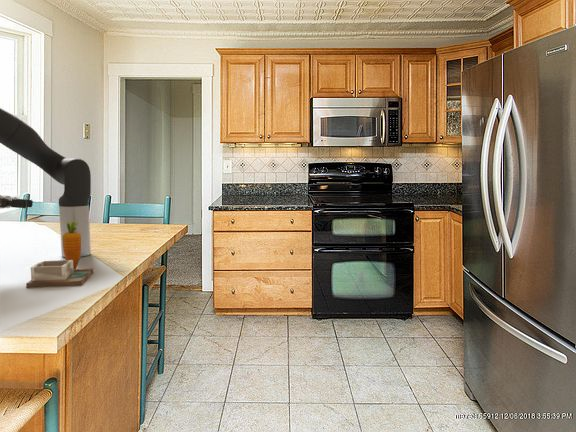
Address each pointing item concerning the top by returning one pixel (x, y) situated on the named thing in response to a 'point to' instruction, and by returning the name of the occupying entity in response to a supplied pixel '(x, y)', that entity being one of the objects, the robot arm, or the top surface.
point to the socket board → (57, 274)
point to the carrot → (72, 244)
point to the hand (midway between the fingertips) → (29, 204)
